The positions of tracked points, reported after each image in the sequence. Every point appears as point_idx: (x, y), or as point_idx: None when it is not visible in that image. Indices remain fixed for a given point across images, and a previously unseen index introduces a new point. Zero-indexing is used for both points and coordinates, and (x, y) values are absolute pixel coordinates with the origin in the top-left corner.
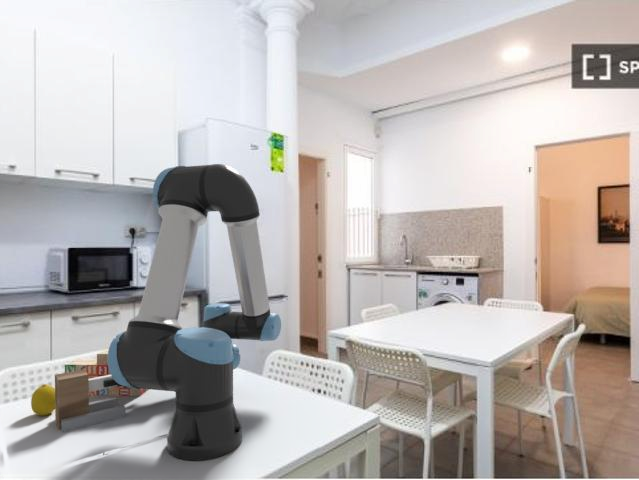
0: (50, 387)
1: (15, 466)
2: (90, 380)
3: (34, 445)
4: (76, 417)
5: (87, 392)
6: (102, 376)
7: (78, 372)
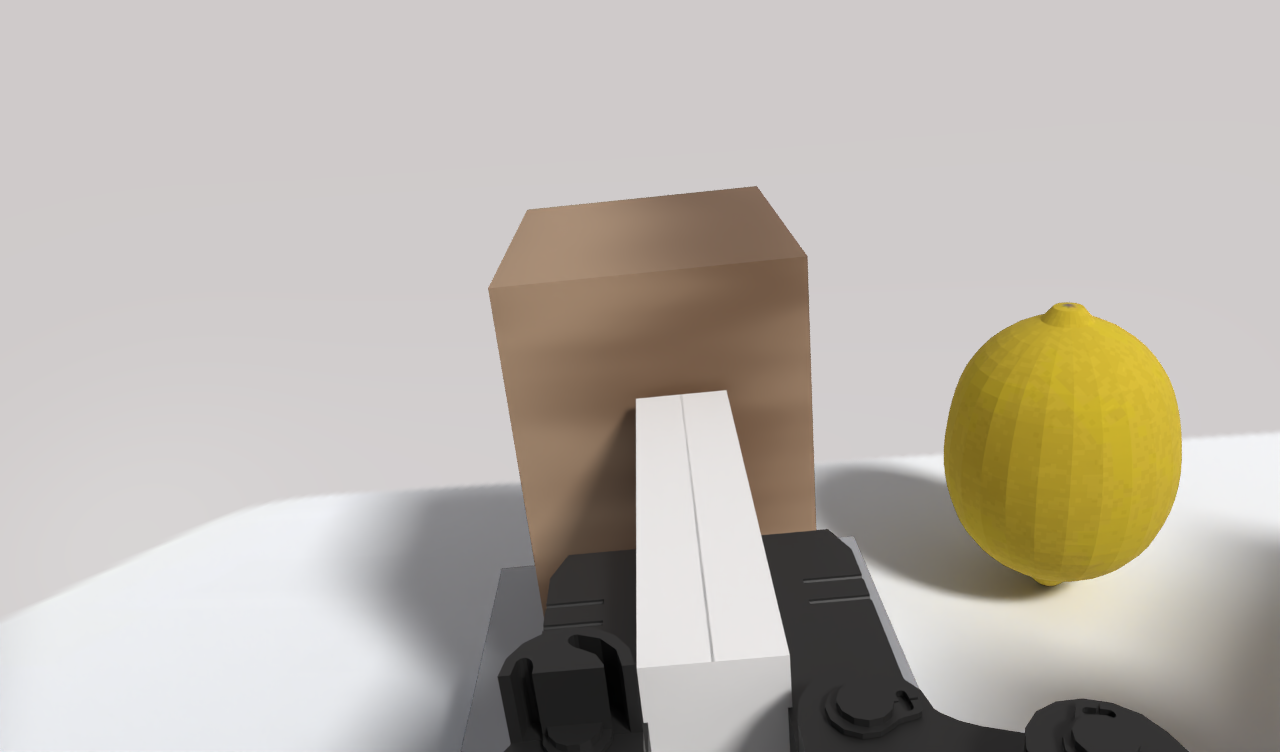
0: (1048, 355)
1: (300, 517)
2: (637, 417)
3: (499, 557)
4: (518, 639)
5: (529, 507)
6: (730, 498)
7: (695, 245)
